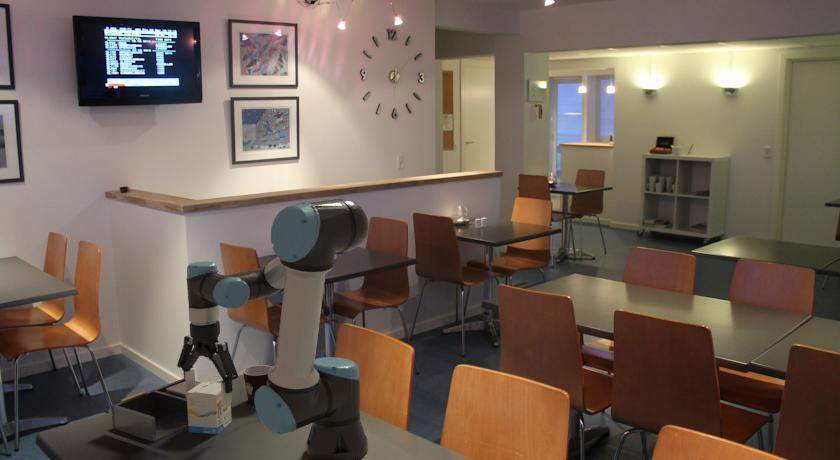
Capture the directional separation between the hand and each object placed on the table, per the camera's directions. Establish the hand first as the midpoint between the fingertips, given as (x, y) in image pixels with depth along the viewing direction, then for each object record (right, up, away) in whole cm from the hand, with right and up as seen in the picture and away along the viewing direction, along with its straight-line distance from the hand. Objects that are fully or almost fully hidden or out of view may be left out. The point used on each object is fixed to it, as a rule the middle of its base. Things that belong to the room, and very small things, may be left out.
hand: (208, 399), depth 194 cm
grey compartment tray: (-12, -8, +6) cm, 16 cm away
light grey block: (-9, -6, +12) cm, 16 cm away
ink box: (0, -9, +1) cm, 9 cm away
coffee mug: (+10, -6, +17) cm, 21 cm away
